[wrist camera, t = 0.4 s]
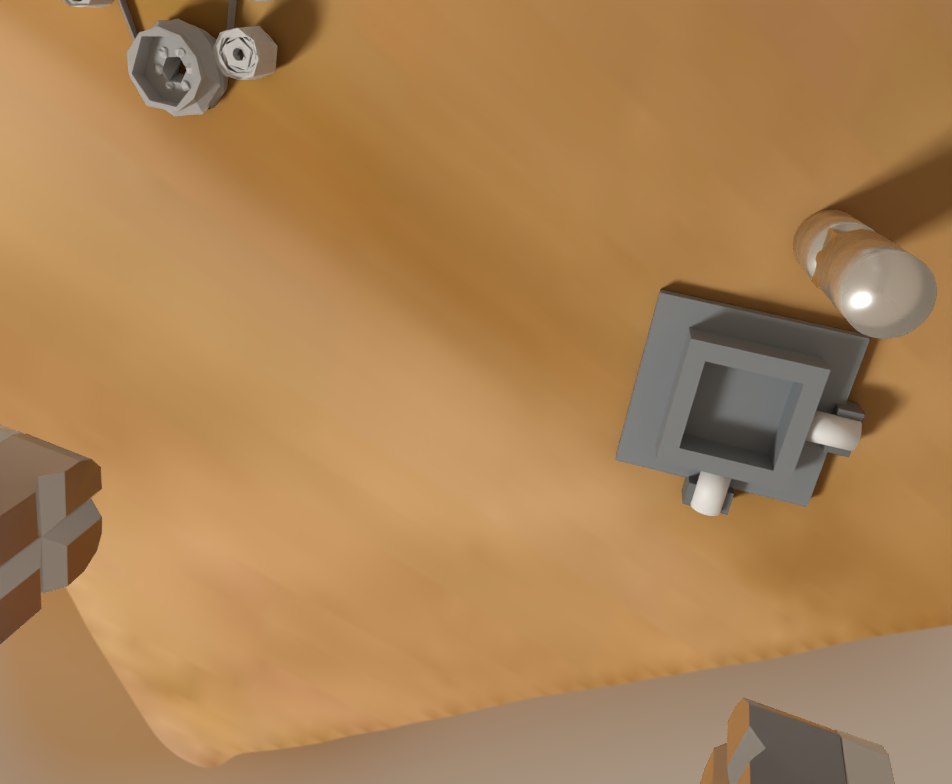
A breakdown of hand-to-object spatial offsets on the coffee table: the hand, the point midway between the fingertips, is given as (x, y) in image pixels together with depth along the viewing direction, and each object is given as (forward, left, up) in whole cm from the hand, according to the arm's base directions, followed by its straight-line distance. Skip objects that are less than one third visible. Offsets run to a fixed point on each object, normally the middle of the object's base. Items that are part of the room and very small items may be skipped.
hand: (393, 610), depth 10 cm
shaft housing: (+12, +12, -46) cm, 49 cm away
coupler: (+1, +14, -46) cm, 48 cm away
